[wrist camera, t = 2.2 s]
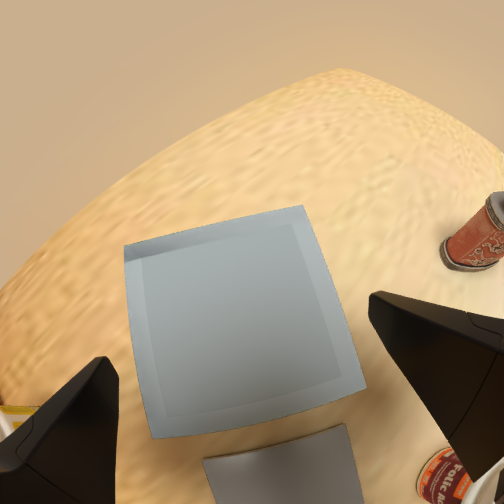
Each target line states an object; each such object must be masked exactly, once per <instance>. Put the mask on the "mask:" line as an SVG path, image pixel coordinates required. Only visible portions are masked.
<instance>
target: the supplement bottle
mask: <svg viewBox="0 0 504 504" xmlns="http://www.w3.org/2000/svg"><path fill="white" fill-rule="evenodd" d="M40 407H41V406H3V405H0V442H1V441H3V440H4V439H5V438H6V437H8V436H9V435H10V434H11V433H12V432H14V431H15V430H16V429H17V428H18V427H19V426H20V425H22V424H23V423H24V422H25V421H26V420H27V419H28V418H29V417H30V416H31V415H34V413H35V412H36V411H37V410H38V409H39V408H40Z"/></svg>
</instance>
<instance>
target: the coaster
mask: <svg viewBox="0 0 504 504" xmlns="http://www.w3.org/2000/svg"><path fill="white" fill-rule="evenodd" d="M202 464H203V467H204V470H205V473H206V476H207V479H208V481H209V484H210V487H211V490H212V493H213V495H214V498H215V501H216V503H217V504H364V499H363V495H362V490H361V486H360V481H359V477H358V473H357V468H356V464H355V460H354V456H353V452H352V448H351V444H350V440H349V436H348V432H347V428H346V425H345V424H340V425H337V426H335V427H332V428H329V429H327V430H324V431H321V432H318V433H315V434H312V435H309V436H305V437H302V438H299V439H295V440H292V441H288V442H285V443H281V444H277V445H273V446H269V447H265V448H261V449H256V450H252V451H247V452H242V453H236V454H230V455H224V456H218V457H211V458H203V459H202Z"/></svg>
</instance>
